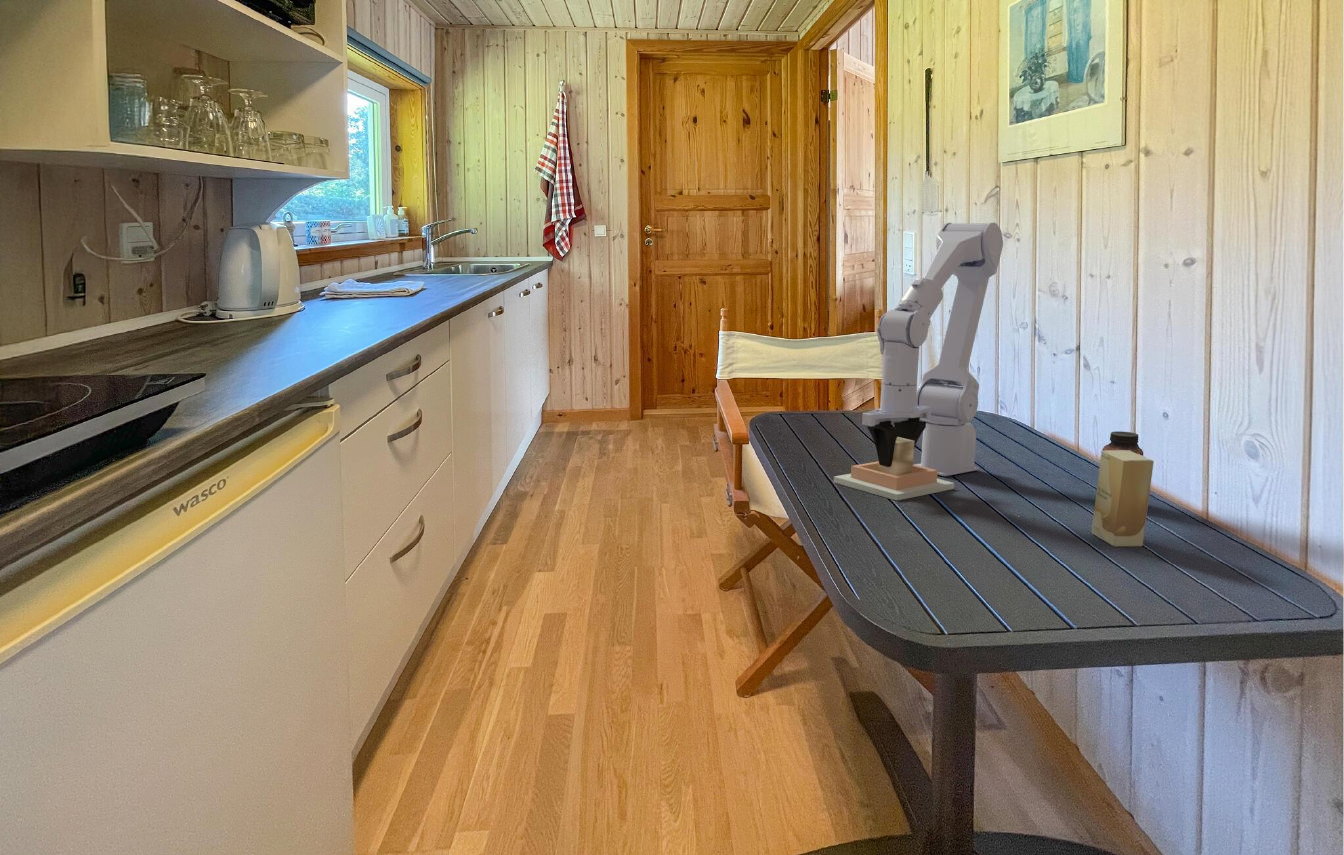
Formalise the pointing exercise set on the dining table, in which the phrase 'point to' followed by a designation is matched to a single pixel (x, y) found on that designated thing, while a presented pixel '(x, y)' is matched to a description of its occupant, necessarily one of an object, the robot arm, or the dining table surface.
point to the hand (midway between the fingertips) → (894, 464)
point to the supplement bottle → (1124, 442)
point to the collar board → (894, 481)
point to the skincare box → (1122, 497)
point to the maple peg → (900, 458)
